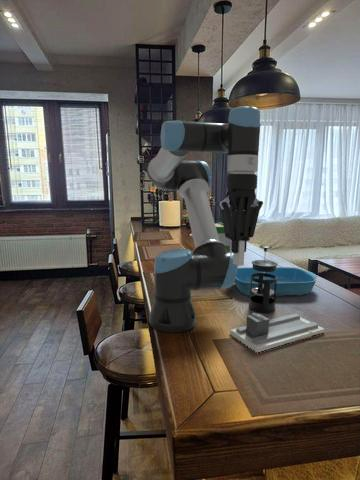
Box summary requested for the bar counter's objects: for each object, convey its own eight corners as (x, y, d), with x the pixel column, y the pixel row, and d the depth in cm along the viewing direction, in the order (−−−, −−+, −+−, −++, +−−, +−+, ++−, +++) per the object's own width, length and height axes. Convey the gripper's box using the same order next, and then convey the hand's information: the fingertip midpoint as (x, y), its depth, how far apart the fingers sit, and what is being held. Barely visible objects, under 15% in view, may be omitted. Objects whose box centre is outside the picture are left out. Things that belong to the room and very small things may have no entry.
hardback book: (205, 266, 170) (206, 222, 165) (218, 266, 171) (220, 222, 166) (213, 276, 153) (215, 227, 148) (228, 275, 154) (230, 226, 149)
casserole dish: (233, 299, 124) (234, 281, 122) (223, 281, 146) (224, 266, 144) (326, 298, 125) (327, 281, 124) (302, 281, 147) (303, 266, 146)
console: (256, 353, 84) (257, 344, 84) (230, 334, 95) (230, 326, 94) (324, 333, 96) (324, 325, 96) (293, 318, 106) (294, 311, 106)
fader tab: (256, 338, 89) (257, 319, 88) (246, 332, 92) (247, 313, 91) (268, 335, 91) (269, 316, 90) (257, 329, 94) (258, 311, 93)
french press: (246, 302, 120) (249, 242, 116) (271, 302, 120) (275, 243, 116) (251, 314, 109) (255, 249, 105) (279, 315, 108) (284, 250, 104)
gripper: (229, 172, 73) (226, 270, 78) (272, 173, 79) (267, 265, 83) (212, 173, 80) (209, 263, 84) (252, 174, 86) (248, 258, 90)
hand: (238, 264), depth 84 cm, fingers closed
